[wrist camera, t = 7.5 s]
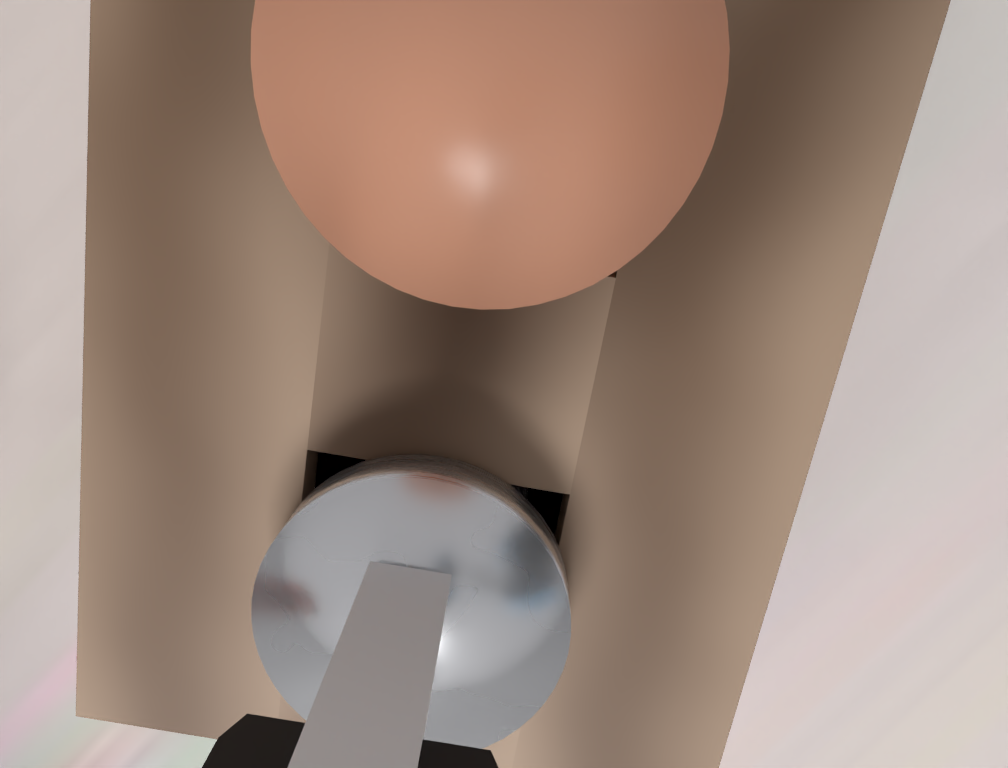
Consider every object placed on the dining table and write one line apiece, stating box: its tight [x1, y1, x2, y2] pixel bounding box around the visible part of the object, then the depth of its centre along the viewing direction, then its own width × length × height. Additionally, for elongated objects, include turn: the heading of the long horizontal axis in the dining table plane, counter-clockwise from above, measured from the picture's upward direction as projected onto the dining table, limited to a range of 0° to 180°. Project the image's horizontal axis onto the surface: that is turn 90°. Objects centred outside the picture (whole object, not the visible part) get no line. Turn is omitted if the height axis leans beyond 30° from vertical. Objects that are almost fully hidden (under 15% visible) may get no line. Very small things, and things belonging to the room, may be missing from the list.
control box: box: [76, 0, 951, 768], centre depth 16 cm, size 14×28×6 cm, turn 170°
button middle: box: [251, 0, 730, 310], centre depth 13 cm, size 6×6×7 cm
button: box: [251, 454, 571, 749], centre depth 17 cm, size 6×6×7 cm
